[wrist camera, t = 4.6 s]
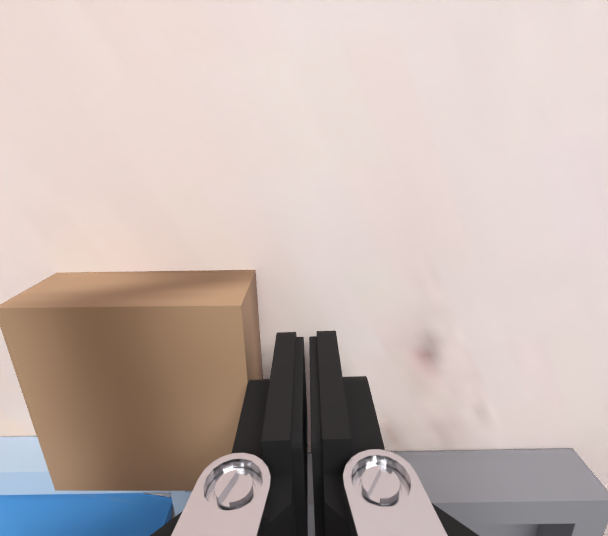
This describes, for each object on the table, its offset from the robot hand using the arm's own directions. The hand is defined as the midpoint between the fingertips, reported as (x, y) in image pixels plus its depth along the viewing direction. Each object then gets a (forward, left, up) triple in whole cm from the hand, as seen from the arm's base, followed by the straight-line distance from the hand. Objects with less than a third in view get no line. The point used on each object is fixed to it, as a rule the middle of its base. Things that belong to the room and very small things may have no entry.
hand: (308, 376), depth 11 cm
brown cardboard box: (+5, 0, -2) cm, 5 cm away
